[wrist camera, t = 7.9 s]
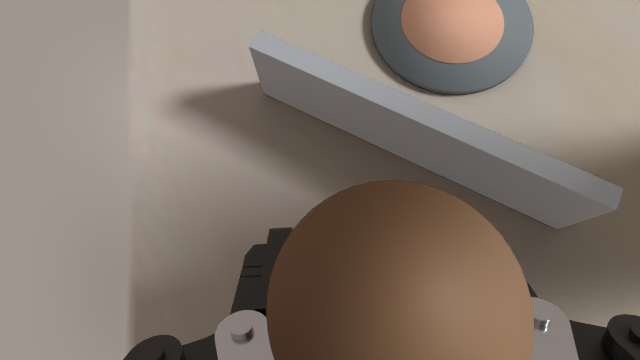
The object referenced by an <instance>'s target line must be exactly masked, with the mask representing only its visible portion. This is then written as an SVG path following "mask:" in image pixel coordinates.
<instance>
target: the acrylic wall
mask: <svg viewBox="0 0 640 360" xmlns="http://www.w3.org/2000/svg"><path fill="white" fill-rule="evenodd" d="M249 49H250V52H251V55H252V58H253V61H254V64H255V68H256V71H257V74H258V77H259V80H260V83H261V87H262V90H263V93H264V94H266V95H268V96H270V97H272V98H275V99H277V100H279V101H281V102H283V103H285V104H287V105H290V106H292V107H294V108H296V109H298V110H300V111H303V112H305V113H307V114H309V115H311V116H313V117H316V118H318V119H320V120H322V121H324V122H326V123H328V124H331V125H333V126H335V127H337V128H339V129H341V130H344V131H346V132H348V133H350V134H352V135H354V136H357V137H359V138H361V139H363V140H365V141H367V142H369V143H372V144H374V145H376V146H378V147H380V148H382V149H385V150H387V151H389V152H391V153H393V154H395V155H397V156H400V157H402V158H404V159H406V160H408V161H410V162H413V163H415V164H417V165H419V166H421V167H423V168H426V169H428V170H430V171H432V172H434V173H436V174H438V175H441V176H443V177H445V178H447V179H449V180H451V181H454V182H456V183H458V184H460V185H462V186H464V187H467V188H469V189H471V190H473V191H475V192H477V193H479V194H482V195H484V196H486V197H488V198H490V199H492V200H495V201H497V202H499V203H501V204H503V205H505V206H507V207H510V208H512V209H514V210H516V211H518V212H520V213H523V214H525V215H527V216H529V217H531V218H533V219H536V220H538V221H540V222H542V223H544V224H546V225H548V226H551V227H553V228H555V229H557V230H558V229H561V228H564V227H567V226H570V225H573V224H576V223H579V222H582V221H585V220H589V219H592V218H595V217H598V216H601V215H604V214H607V213H610V212H613V211H616V210H617V209H618V205H619V202H620V199H621V196H622V192H623V189H624V188H622V187H620V186H618V185H615V184H613V183H611V182H608V181H606V180H604V179H602V178H599V177H597V176H595V175H592V174H590V173H588V172H585V171H583V170H581V169H578V168H576V167H574V166H572V165H569V164H567V163H565V162H562V161H560V160H558V159H555V158H553V157H551V156H549V155H546V154H544V153H542V152H539V151H537V150H535V149H532V148H530V147H528V146H526V145H523V144H521V143H519V142H516V141H514V140H512V139H509V138H507V137H505V136H502V135H500V134H498V133H496V132H493V131H491V130H489V129H486V128H484V127H482V126H479V125H477V124H475V123H473V122H470V121H468V120H466V119H463V118H461V117H459V116H456V115H454V114H452V113H450V112H447V111H445V110H443V109H440V108H438V107H436V106H433V105H431V104H429V103H427V102H424V101H422V100H420V99H417V98H415V97H413V96H410V95H408V94H406V93H403V92H401V91H399V90H397V89H394V88H392V87H390V86H387V85H385V84H383V83H380V82H378V81H376V80H374V79H371V78H369V77H367V76H364V75H362V74H360V73H357V72H355V71H353V70H351V69H348V68H346V67H344V66H341V65H339V64H337V63H334V62H332V61H330V60H327V59H325V58H323V57H321V56H318V55H316V54H314V53H311V52H309V51H307V50H304V49H302V48H300V47H298V46H295V45H293V44H291V43H288V42H286V41H284V40H281V39H279V38H277V37H275V36H272V35H270V34H268V33H265V32H263V31H261V30H260V31H259V32H258V34H257V35H256V37H255V38H254V40H253V41H252V43H251V44H250V46H249Z"/></svg>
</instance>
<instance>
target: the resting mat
mask: <svg viewBox="0 0 640 360" xmlns="http://www.w3.org/2000/svg"><path fill="white" fill-rule="evenodd" d="M371 30H372V35H373V39H374V42H375V45H376V48H377V50H378V52H379V53H380V55H381V57H382V58H383V59H384V61H385V62H386V63H387V65H388V66H389V67H390V68H391V69H392V70H393V71H394V72H396V73H397V74H398V75H399V76H400V77H402V78H403V79H405V80H406V81H408V82H410V83H412V84H414V85H416V86H418V87H420V88H423V89H426V90H428V91H432V92H437V93H442V94H450V95H463V94H473V93H477V92H481V91H485V90H487V89H490V88H493V87H495V86H496V85H498V84H500V83H502V82H503V81H505V80H506V79H508V78H509V77H510V76H511V75H512V74H513V73H514V72H515V71H516V70H517V69H518V68H519V66H520V65H521V64H522V62H523V61H524V60H525V58H526V56H527V54H528V53H529V51H530V48H531V45H532V41H533V34H534V25H533V19H532V15H531V12H530V9H529V6H528V4H527V2H526V0H375V3H374V6H373V12H372V19H371Z"/></svg>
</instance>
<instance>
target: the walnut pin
mask: <svg viewBox="0 0 640 360" xmlns="http://www.w3.org/2000/svg"><path fill="white" fill-rule="evenodd" d="M266 317H267V331H268V337H269V342H270V347H271V351H272V354H273V357H274V360H531V357H532V350H533V342H534V315H533V308H532V301H531V297H530V293H529V289H528V285H527V282H526V279H525V277H524V274H523V272H522V269H521V267H520V264H519V262H518V261H517V259H516V257H515V255H514V253H513V251H512V250H511V248H510V247H509V245H508V244H507V242H506V241H505V240H504V238H503V237H502V235H501V234H500V233H499V232H498V231H497V230H496V228H495V227H494V226H493V225H492V224H491V223H490V222H489V221H488V220H487V219H486V218H485V217H484V216H482V215H481V214H480V213H479V212H478V211H477V210H475V209H474V208H473V207H471V206H470V205H468V204H467V203H465V202H464V201H463V200H461V199H459V198H457V197H455V196H453V195H451V194H449V193H447V192H445V191H442V190H440V189H437V188H435V187H432V186H428V185H424V184H420V183H416V182H408V181H394V180H385V181H376V182H369V183H365V184H361V185H357V186H353V187H351V188H348V189H346V190H343V191H340V192H338V193H337V194H335V195H333V196H331V197H329V198H327V199H326V200H324V201H323V202H322V203H320V204H319V205H317V206H316V207H315V208H313V209H312V210H311V211H310V212H309V213H308V214H307V215H306V216H305V217H304V218H303V219H302V220H301V221H300V222H299V223H298V224H297V226H296V227H295V228H294V229H293V231H292V232H291V233H290V235H289V237H288V238H287V240H286V241H285V243H284V245H283V246H282V248H281V251H280V253H279V255H278V257H277V259H276V261H275V265H274V268H273V271H272V274H271V277H270V282H269V288H268V293H267V307H266Z"/></svg>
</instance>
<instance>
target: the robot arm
mask: <svg viewBox="0 0 640 360" xmlns="http://www.w3.org/2000/svg"><path fill="white" fill-rule="evenodd" d="M292 231H293V229H292V227H291V228H272V229H270V230H269V235H268V240H267V244H256V245H254V246H253V247H252V248H251V249H250V250H249V252H248V253H247V254H246V255H245V259H244V263H243V269H242V271H241V275H240V279H239V283H238V286H237V290H236V294H235V298H234V302H233V306H232V310H231V314H230V315H229V316H228V317H226V318H225V319H224V320H223V321H221V323H220V324H219V325H218V327H217V329H216V331H215V333H214V334H212V335H211V336H209V337H206V338H204V339H201V340H198V341H195V342H192V343H189V344H185V345H181V343H180V342H179V340H178V339H177V338H175V337H173V336H169V335H158V336H154V337H151V338H148V339H146V340H144V341H142V342H141V343H139V344H138V345H136V346H135V347H134V348H133V349H132V350H131V351H130V352H129V353H128V354H127V356H126V357H125V358H124V360H274V357H273V354H272V351H271V347H270V342H269V337H268V331H267V317H266V307H267V293H268V288H269V282H270V277H271V274H272V271H273V268H274V265H275V261H276V259H277V257H278V255H279V253H280V251H281V248H282V246H283V245H284V243H285V241H286V240H287V238H288V237H289V235H290V233H291V232H292ZM526 282H527V281H526ZM527 285H528V289H529V293H530V297H531V301H532V308H533V315H534V342H533V350H532V357H531V360H640V317H639V316H635V315H627V314H624V315H617V316H614V317H613V318H611V319H610V321H609V322H608V325H607V328H605V327H600V326H595V325H590V324H585V323H580V322H575V321H572V320H569V319H568V317H567V316H566V314H565V313H564V312H563V311H562V310H561V309H560V308H558V307H557V306H556V305H554V304H552V303H550V302H548V301H546V300H543V299H540V298H538V297H537V295H536V294H535V293H534V291H533V290H532V288H531V287H530V285H529V284H528V282H527Z"/></svg>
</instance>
